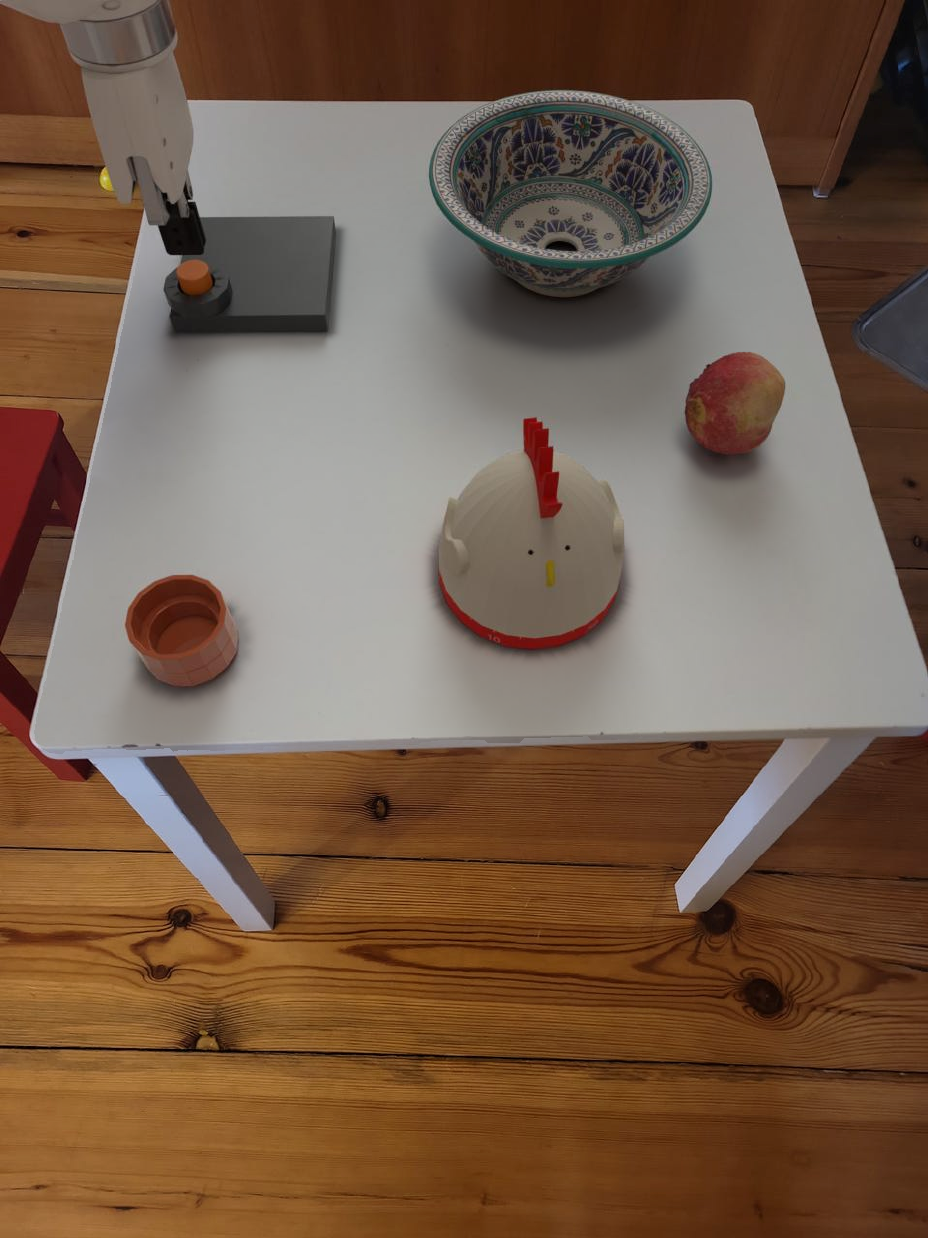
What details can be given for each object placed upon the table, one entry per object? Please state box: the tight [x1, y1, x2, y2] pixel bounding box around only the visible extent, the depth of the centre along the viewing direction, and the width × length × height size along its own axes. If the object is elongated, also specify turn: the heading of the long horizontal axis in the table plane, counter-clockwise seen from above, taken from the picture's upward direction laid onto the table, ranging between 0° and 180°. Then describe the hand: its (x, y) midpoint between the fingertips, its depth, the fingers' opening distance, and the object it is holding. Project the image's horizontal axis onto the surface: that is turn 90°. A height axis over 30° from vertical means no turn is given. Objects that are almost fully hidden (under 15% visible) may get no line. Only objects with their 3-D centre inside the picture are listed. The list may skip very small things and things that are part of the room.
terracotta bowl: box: [124, 574, 239, 687], centre depth 65 cm, size 7×7×5 cm
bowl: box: [428, 89, 713, 298], centre depth 84 cm, size 25×25×10 cm
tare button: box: [176, 260, 213, 296], centre depth 81 cm, size 3×3×2 cm
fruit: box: [684, 351, 786, 456], centre depth 73 cm, size 8×8×8 cm
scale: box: [163, 215, 337, 334], centre depth 85 cm, size 14×14×4 cm
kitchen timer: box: [438, 416, 625, 650], centre depth 64 cm, size 14×14×15 cm
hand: (187, 248), depth 78 cm, fingers closed
